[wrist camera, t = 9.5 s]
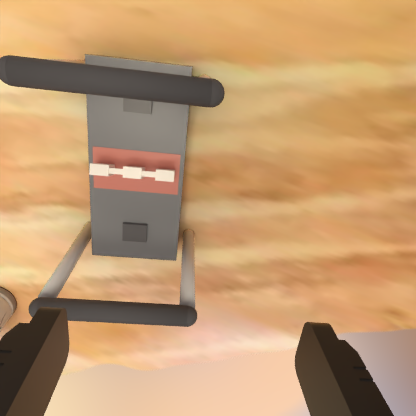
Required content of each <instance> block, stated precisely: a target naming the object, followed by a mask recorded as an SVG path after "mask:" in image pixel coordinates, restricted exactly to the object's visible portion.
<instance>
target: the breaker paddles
mask: <svg viewBox="0 0 416 416" xmlns="http://www.w3.org/2000/svg"><path fill="white" fill-rule="evenodd" d="M114 174H120V175H123V178H133V179H143V178H145V177H154V178H155V181H167V182H174V179H175V170H170V169H159V168H158V169H156V172H152V171H145V167H137V166H123V169H119V168H115V164H104V163H90V172H89V175H99V176H112V175H114Z"/></svg>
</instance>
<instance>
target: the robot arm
mask: <svg viewBox="0 0 416 416" xmlns="http://www.w3.org/2000/svg"><path fill="white" fill-rule="evenodd" d="M68 352H69V333H68V321H67V311H66V309H65V308H51V307H40V308H39V309H38V310H37V312H36V313H35V315H34V317H33V318H32V320H31V321H30V323H19V324H18V325H16V326H15V327H14V328H13V329H11V330H10V331H9V332H7V333H6V334H5V335H4V336H3V337H2V339H1V340H0V416H44V413H45V411H46V409H47V406H48V404H49V402H50V399H51V397H52V394H53V392H54V390H55V387H56V385H57V382H58V380H59V378H60V375H61V373H62V371H63V368H64V366H65V363H66V360H67V357H68ZM295 369H296V373H297V377H298V379H299V383H300V386H301V389H302V392H303V394H304V398H305V401H306V404H307V407H308V409H309V412H310V415H311V416H394V415H393V413H392V412H391V410H390V408H389V407H388V405H387V403H386V401H385V399H384V398H383V396H382V394H381V392H380V391H379V389H378V387H377V385H376V384H375V382H373V378H372V377H371V375H370V373H369V372H368V370H366V366H365V365H364V363H363V361H362V359H361V357H360V356H359V354H358V352H357V351H356V350H354V349H353V348H352V347H351V346H350V345H349V344H348V343H347V342H346V341H345V340H338V338H337V336H336V334H335V332H334V330H333V328H332V327H331V325H330V324H328V323H313V322H306V323H305V325H304V327H303V331H302V334H301V337H300V341H299V344H298V348H297V351H296V355H295Z"/></svg>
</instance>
